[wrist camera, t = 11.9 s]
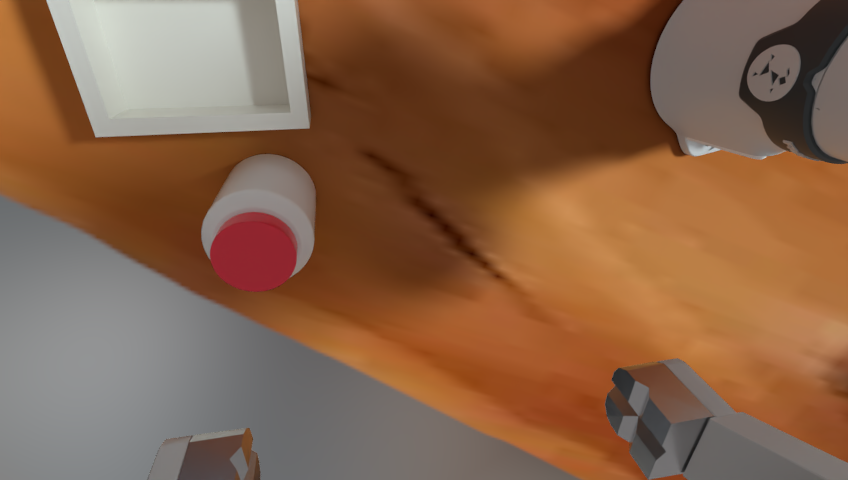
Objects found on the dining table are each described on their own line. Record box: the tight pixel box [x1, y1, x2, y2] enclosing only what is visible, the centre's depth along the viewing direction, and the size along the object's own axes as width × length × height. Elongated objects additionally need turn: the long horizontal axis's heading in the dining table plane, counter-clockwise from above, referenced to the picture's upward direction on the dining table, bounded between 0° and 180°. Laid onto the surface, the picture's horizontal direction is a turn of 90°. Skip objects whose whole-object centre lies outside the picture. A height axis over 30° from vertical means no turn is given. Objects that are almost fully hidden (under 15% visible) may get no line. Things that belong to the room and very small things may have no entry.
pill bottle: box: [201, 154, 317, 292], centre depth 33 cm, size 8×8×11 cm
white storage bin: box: [46, 0, 311, 137], centre depth 30 cm, size 14×10×4 cm
